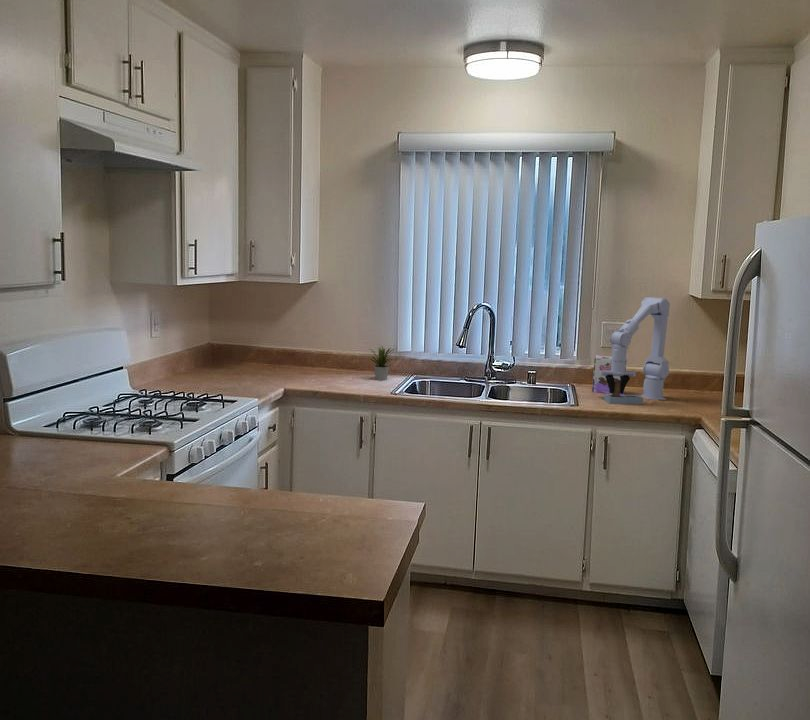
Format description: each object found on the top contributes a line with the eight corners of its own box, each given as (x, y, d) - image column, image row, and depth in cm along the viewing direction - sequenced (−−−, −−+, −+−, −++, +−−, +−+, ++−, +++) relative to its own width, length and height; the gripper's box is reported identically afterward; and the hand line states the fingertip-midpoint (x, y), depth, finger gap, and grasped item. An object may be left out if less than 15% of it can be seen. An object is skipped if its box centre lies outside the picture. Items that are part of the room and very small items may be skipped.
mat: (597, 397, 347) (598, 396, 347) (620, 398, 348) (620, 397, 348) (603, 401, 339) (603, 400, 339) (626, 401, 340) (627, 400, 340)
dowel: (610, 402, 337) (612, 381, 336) (617, 402, 337) (619, 381, 336) (613, 403, 334) (614, 382, 333) (620, 403, 334) (621, 382, 333)
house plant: (405, 380, 372) (406, 345, 370) (381, 383, 364) (382, 347, 361) (385, 376, 383) (386, 342, 381) (362, 378, 374) (363, 343, 372)
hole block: (604, 401, 339) (604, 394, 338) (636, 402, 340) (637, 395, 339) (609, 404, 332) (609, 397, 332) (642, 405, 333) (643, 398, 333)
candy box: (591, 393, 358) (594, 356, 356) (592, 391, 364) (595, 354, 361) (623, 395, 354) (626, 358, 352) (624, 393, 360) (627, 357, 357)
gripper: (604, 361, 329) (602, 394, 331) (639, 362, 330) (636, 395, 332) (599, 359, 336) (596, 391, 338) (633, 360, 337) (630, 392, 339)
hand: (616, 393), depth 335 cm, fingers open, 4 cm apart
